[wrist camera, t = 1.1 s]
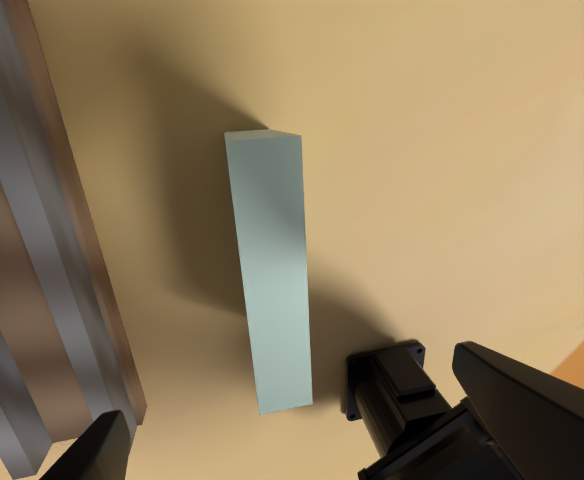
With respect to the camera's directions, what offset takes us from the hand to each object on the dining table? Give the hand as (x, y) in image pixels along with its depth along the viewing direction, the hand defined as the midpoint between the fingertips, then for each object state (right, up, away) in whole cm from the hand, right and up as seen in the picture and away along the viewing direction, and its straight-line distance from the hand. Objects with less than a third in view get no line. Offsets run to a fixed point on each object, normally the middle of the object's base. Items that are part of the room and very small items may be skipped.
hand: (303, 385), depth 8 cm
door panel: (-3, +4, +11) cm, 13 cm away
